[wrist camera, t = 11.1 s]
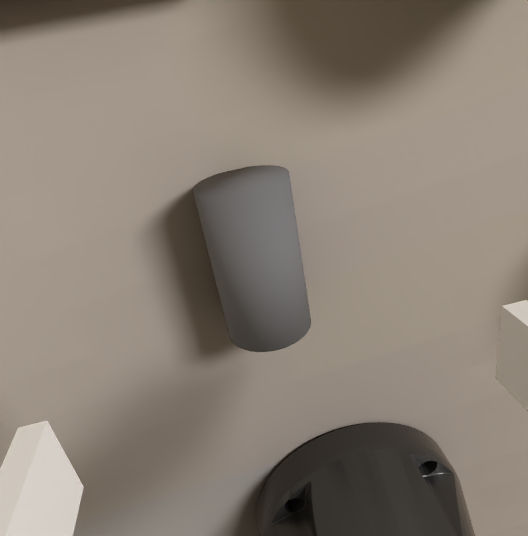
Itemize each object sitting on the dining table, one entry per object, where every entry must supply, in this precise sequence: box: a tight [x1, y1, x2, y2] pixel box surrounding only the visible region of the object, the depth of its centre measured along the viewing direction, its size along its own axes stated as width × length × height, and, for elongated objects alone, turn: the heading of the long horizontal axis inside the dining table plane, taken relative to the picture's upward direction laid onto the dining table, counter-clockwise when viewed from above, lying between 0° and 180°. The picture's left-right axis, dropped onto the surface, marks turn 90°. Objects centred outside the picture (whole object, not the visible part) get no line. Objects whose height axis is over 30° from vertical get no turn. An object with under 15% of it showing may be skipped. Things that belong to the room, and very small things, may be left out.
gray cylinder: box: [193, 166, 311, 352], centre depth 22 cm, size 8×4×4 cm, turn 10°
